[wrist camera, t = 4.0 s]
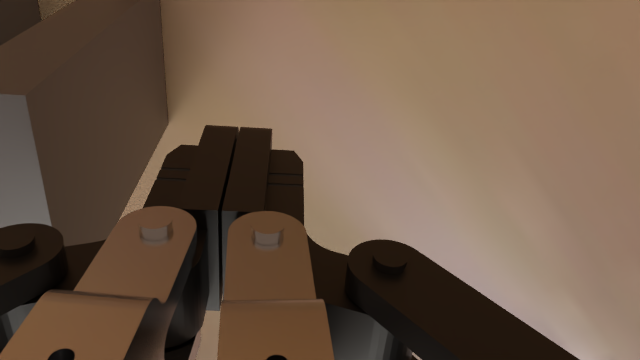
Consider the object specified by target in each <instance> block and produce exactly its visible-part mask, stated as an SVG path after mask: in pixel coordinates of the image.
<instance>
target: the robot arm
mask: <svg viewBox="0 0 640 360" xmlns="http://www.w3.org/2000/svg"><path fill="white" fill-rule="evenodd" d="M222 294H223V300H222ZM221 300H222V302H221ZM220 305H221V312H220V327H219V342H218V357H217V360H418V359H416V358H415V357H414V356H413V355H412V352H414V353H415V354H416V355H417V356H419V357H420V358H421V359H422V360H579V359H578V358H576V357H575V356H573V355H572V354H570V353H569V352H567V351H566V350H564V349H563V348H561V347H560V346H558V345H557V344H555V343H554V342H552V341H551V340H549V339H548V338H547V337H545V336H544V335H542V334H541V333H539V332H538V331H536V330H535V329H533V328H532V327H530V326H529V325H527V324H526V323H524V322H523V321H521V320H520V319H518V318H517V317H515V316H514V315H512V314H511V313H509V312H508V311H506V310H505V309H503V308H502V307H500V306H499V305H497V304H496V303H494V302H493V301H491V300H490V299H488V298H487V297H486V296H484V295H483V294H481V293H480V292H478V291H477V290H475V289H474V288H472V287H471V286H469V285H468V284H466V283H465V282H463V281H462V280H460V279H459V278H457V277H456V276H454V275H453V274H451V273H450V272H448V271H447V270H445V269H444V268H442V267H441V266H439V265H438V264H436V263H435V262H433V261H432V260H430V259H429V258H427V257H426V256H425V255H423V254H422V253H420V252H419V251H417V250H415V249H414V248H412V247H410V246H408V245H406V244H403V243H400V242H396V241H392V240H371V241H366V242H363V243H361V244H359V245H357V246H356V247H354V248H353V249H352V250H351V252H350V254H349V256H348V255H344V254H340V253H336V252H333V251H330V250H328V249H325V248H323V247H321V246H320V245H318V244H316V243H315V242H314V241H313V240H312V239H311V238H310V237H309V236H308V235H307V233H306V229H305V227H304V189H303V161H302V160H301V159H300V158H299V156H298V155H297V154H296V153H295V152H294V151H289V150H272V129H267V128H249V127H240V131H239V129H238V127H230V126H213V125H206V126H205V128H204V131H203V134H202V137H201V139H200V142H199V145H198V146H196V145H180V146H179V147H177V148H176V149H174V150H173V151H172V152H170V153H169V154H167V156H166V158H165V160H164V162H163V165H162V167H161V170H160V171H159V173H158V176H157V180H155V182H154V184H153V187H152V189H151V191H150V193H149V195H148V198H147V200H146V202H145V204H144V207H143V208H142V209H139V210H136V211H133V212H131V213H129V214H127V215H125V216H124V217H123V218H121V219H120V220H119V221H118V223H117V224H116V225H115V227H114V228H113V230H112V231H111V233H110V235H109V236H108V238H107V239H105V240H102V241H97V242H92V243H85V244H79V245H72V246H66V247H65V245H64V240H63V236H62V234H61V233H60V232H59V231H58V230H57V229H55V228H54V227H51V226H49V225H45V224H39V223H23V224H15V225H10V226H6V227H3V228H0V360H196V357H197V353H198V350H199V347H200V343H201V327H202V324H203V321H204V316H205V311H206V310H211V311H220Z"/></svg>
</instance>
